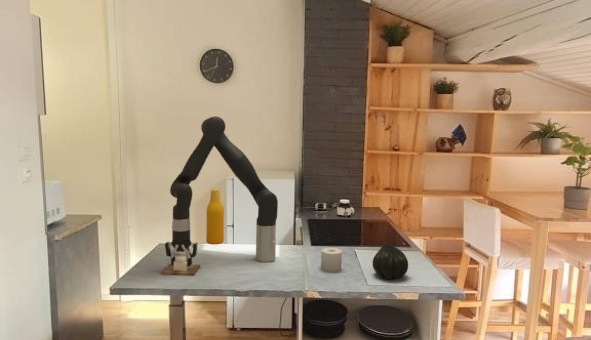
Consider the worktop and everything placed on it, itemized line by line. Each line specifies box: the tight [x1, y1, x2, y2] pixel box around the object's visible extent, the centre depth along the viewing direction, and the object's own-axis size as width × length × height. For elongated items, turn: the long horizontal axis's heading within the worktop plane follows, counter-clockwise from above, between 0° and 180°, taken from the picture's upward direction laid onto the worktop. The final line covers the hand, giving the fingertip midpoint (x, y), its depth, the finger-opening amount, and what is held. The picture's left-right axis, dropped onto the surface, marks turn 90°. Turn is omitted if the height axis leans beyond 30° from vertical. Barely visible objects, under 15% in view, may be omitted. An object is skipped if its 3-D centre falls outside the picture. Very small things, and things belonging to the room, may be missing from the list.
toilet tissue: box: [320, 247, 343, 274], centre depth 188 cm, size 9×13×9 cm
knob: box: [174, 252, 189, 271], centre depth 179 cm, size 6×6×6 cm
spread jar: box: [336, 199, 355, 216], centre depth 297 cm, size 12×11×12 cm
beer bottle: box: [206, 188, 225, 245], centre depth 222 cm, size 9×9×29 cm
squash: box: [372, 243, 409, 280], centre depth 180 cm, size 14×15×15 cm
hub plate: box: [160, 263, 202, 277], centre depth 180 cm, size 14×11×4 cm
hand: (181, 265), depth 180 cm, fingers open, 6 cm apart
